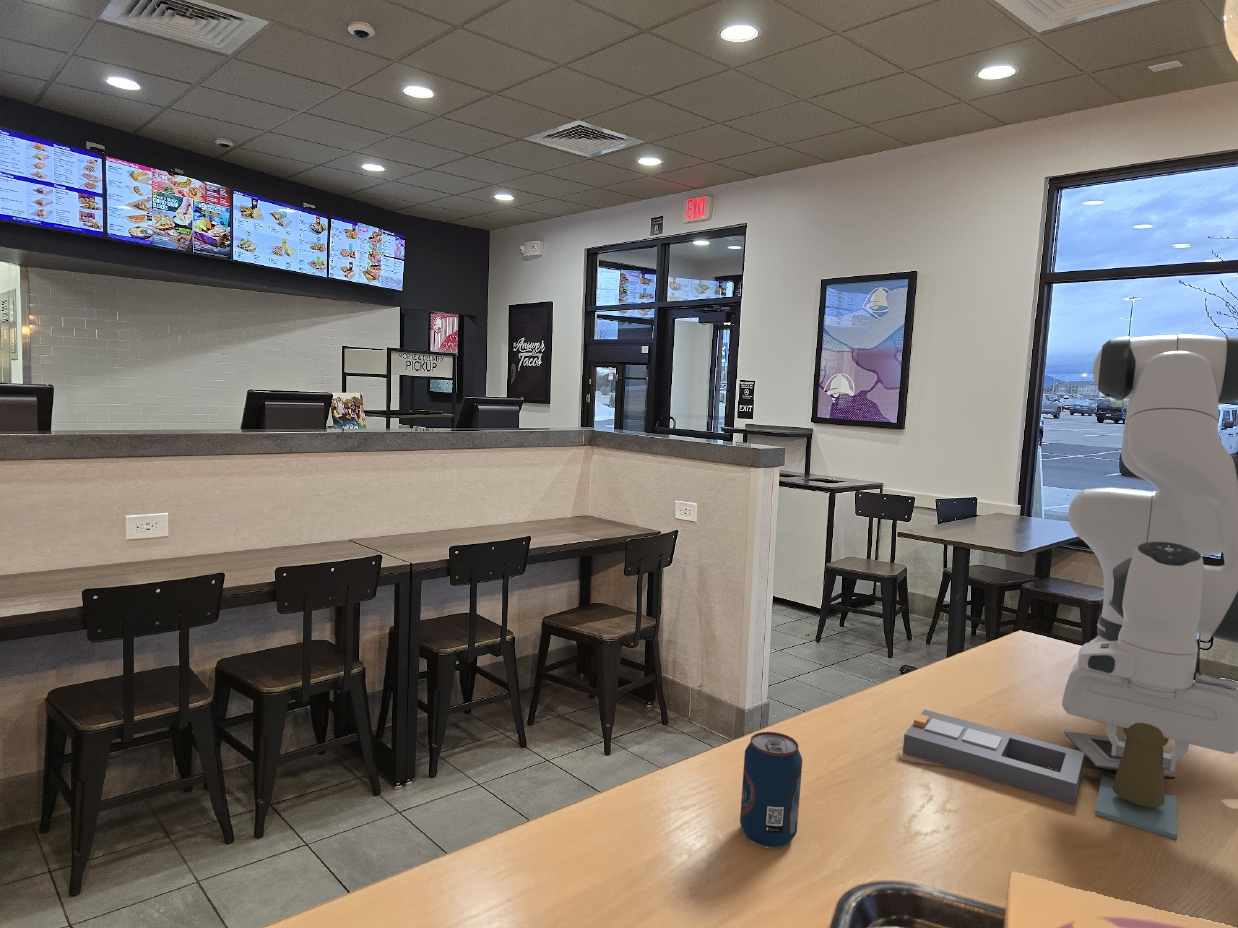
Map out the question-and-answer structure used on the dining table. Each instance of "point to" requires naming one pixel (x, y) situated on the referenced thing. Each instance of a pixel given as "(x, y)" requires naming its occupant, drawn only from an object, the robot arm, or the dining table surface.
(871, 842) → the dining table surface
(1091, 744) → the grey picture frame
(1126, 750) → the cork
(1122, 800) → the rubber mat
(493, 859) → the dining table surface
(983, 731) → the grey slotted tray
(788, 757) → the soda can
